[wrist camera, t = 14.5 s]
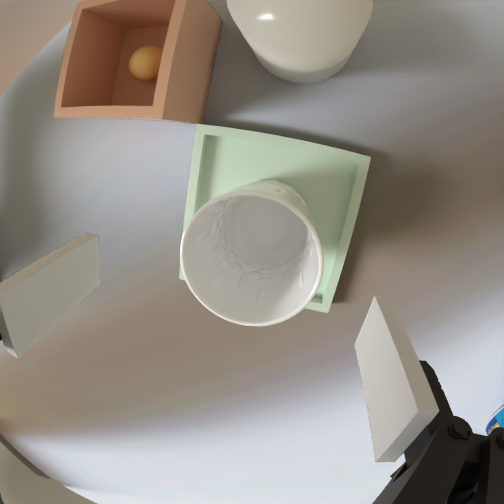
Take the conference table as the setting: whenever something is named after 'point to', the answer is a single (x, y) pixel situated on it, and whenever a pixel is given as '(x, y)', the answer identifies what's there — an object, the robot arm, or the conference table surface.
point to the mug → (302, 34)
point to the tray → (291, 173)
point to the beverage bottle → (495, 420)
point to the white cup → (253, 254)
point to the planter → (120, 51)
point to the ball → (145, 63)
